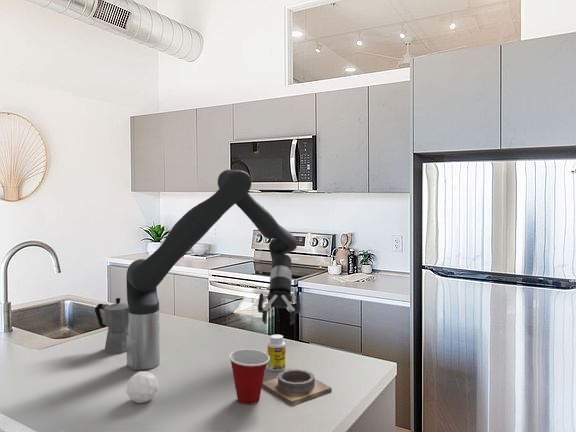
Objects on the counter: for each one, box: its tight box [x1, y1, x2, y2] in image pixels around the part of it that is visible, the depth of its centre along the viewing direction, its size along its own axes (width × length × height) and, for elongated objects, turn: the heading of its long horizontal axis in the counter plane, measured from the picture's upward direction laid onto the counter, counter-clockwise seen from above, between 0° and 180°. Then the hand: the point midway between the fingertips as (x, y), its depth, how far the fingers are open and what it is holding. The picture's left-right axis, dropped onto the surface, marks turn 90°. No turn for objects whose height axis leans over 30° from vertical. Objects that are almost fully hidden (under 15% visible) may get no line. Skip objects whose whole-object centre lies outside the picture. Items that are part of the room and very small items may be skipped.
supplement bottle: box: [266, 334, 287, 372], centre depth 140 cm, size 6×6×10 cm
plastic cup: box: [228, 348, 270, 405], centre depth 119 cm, size 11×11×12 cm
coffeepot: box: [94, 297, 129, 355], centre depth 156 cm, size 15×9×18 cm, turn 79°
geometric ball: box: [126, 370, 159, 404], centre depth 118 cm, size 8×8×8 cm
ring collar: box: [262, 368, 333, 406], centre depth 126 cm, size 14×14×4 cm
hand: (278, 323), depth 147 cm, fingers open, 8 cm apart
